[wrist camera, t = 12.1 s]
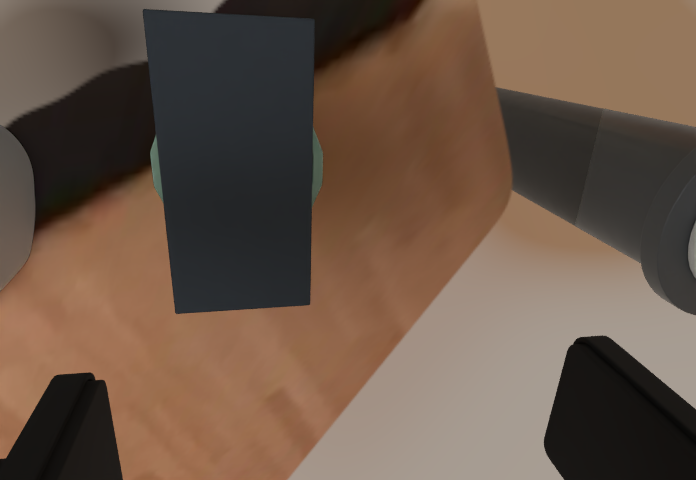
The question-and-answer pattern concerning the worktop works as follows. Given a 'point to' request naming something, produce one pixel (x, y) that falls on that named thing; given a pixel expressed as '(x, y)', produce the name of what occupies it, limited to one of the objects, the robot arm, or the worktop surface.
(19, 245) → the lumpy-topped squat cylinder
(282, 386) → the worktop surface
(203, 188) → the dark blue flat block
